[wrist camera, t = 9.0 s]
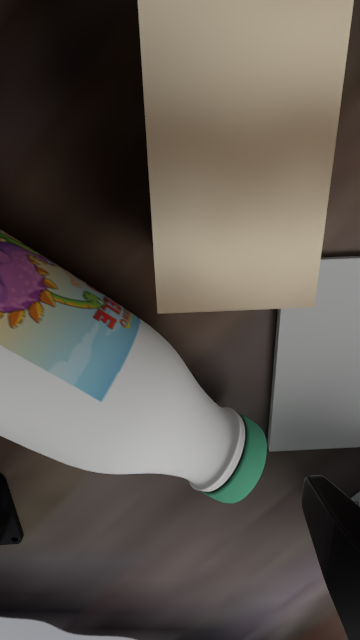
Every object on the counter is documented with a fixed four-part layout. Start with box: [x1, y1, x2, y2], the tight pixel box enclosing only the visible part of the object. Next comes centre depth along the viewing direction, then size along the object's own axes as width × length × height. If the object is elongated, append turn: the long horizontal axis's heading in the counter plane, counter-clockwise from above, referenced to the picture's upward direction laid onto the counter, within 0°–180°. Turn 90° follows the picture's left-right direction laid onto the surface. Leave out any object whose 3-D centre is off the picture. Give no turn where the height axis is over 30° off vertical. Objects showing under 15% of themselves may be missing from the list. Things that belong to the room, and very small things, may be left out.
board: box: [138, 0, 354, 314], centre depth 12 cm, size 10×6×2 cm, turn 2°
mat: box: [267, 256, 360, 452], centre depth 21 cm, size 13×9×1 cm
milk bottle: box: [0, 229, 267, 503], centre depth 16 cm, size 8×8×20 cm
